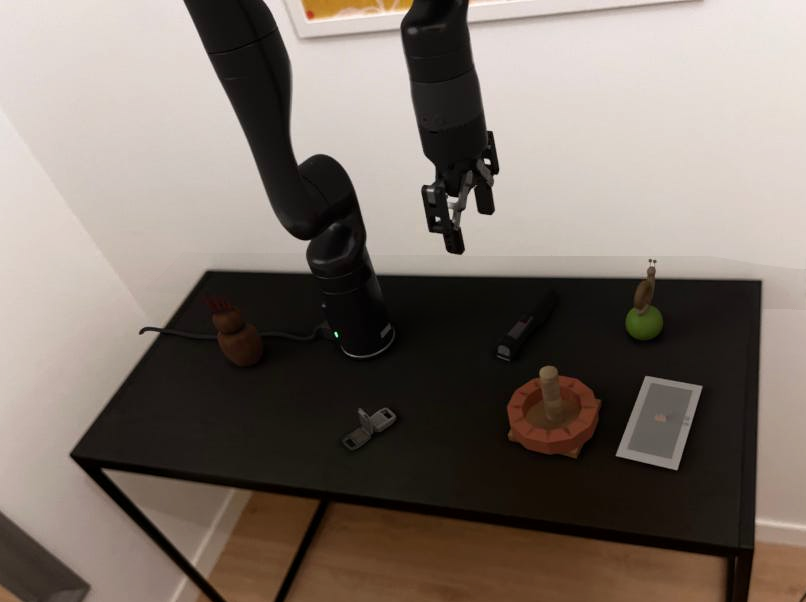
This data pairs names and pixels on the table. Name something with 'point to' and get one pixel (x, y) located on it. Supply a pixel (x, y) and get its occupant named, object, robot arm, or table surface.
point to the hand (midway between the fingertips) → (472, 232)
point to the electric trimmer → (525, 325)
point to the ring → (556, 438)
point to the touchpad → (660, 422)
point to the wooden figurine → (235, 333)
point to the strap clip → (369, 427)
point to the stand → (553, 408)
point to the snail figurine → (645, 310)
